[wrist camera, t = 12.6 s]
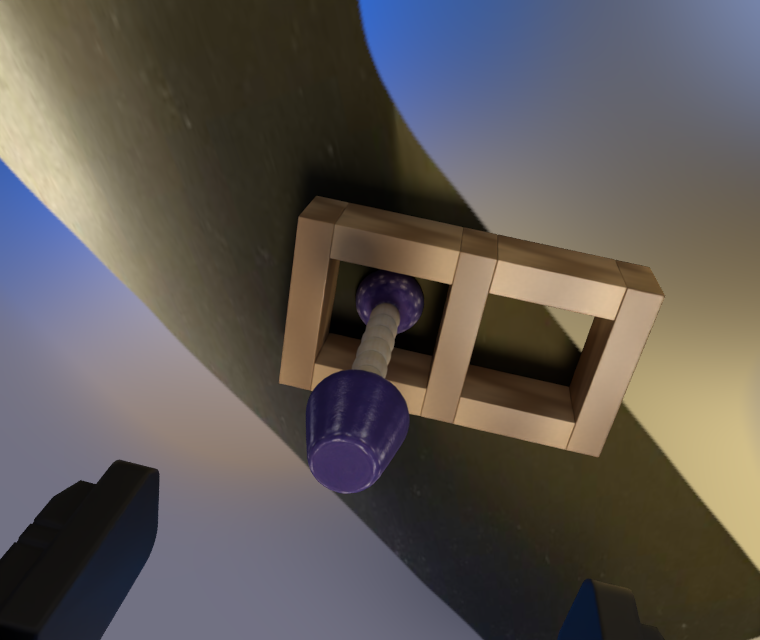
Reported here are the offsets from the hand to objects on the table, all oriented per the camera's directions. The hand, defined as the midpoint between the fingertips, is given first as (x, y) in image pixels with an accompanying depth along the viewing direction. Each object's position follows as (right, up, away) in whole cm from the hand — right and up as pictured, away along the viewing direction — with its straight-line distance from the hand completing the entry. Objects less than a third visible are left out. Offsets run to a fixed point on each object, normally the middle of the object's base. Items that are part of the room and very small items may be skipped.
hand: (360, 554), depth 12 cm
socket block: (+5, +5, +29) cm, 30 cm away
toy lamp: (+1, +6, +29) cm, 30 cm away
